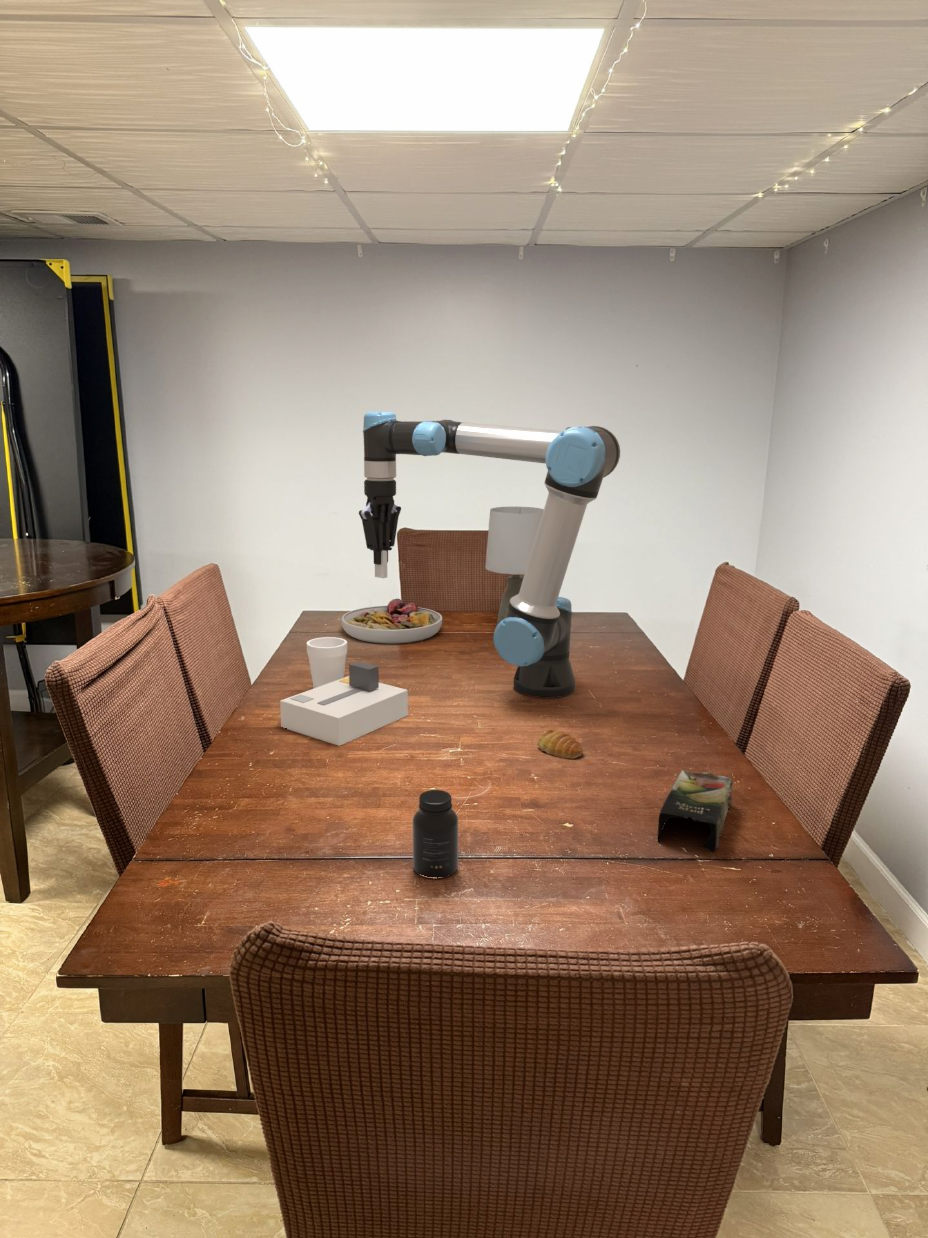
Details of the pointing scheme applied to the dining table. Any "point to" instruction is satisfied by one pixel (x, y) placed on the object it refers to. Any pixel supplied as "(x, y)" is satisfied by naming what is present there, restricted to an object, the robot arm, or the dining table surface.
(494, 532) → the lamp
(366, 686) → the knob
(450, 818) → the supplement bottle
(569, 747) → the pastry
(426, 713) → the dining table surface
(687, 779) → the juice carton
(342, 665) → the foam cup
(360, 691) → the switch panel
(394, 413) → the robot arm
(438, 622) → the bowl
